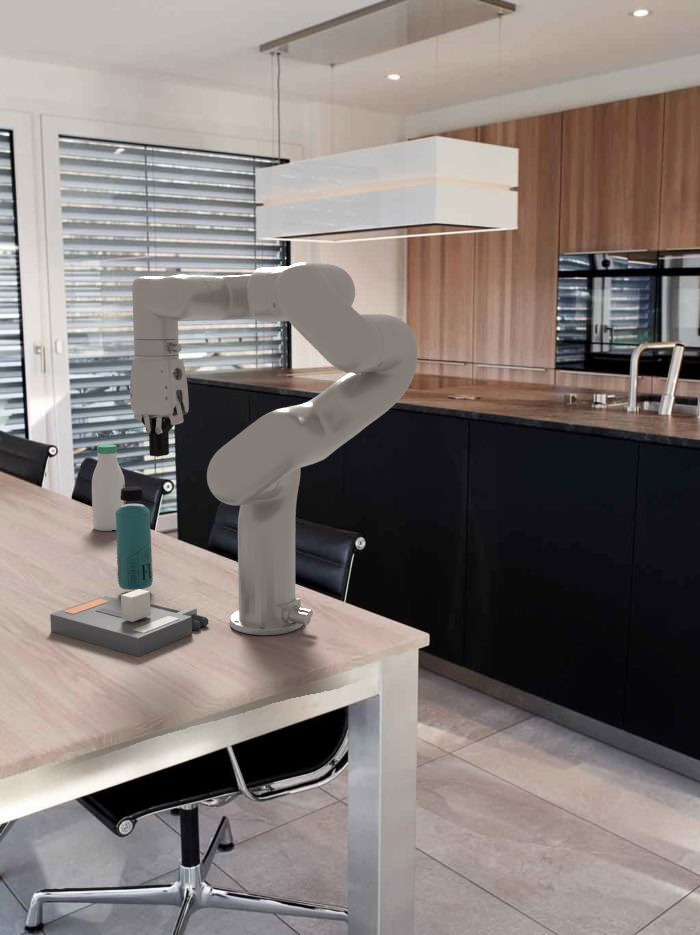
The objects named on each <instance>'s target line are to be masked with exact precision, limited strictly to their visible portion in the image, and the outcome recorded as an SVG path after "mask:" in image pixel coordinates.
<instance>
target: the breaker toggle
mask: <svg viewBox="0 0 700 935" xmlns="http://www.w3.org/2000/svg"><path fill="white" fill-rule="evenodd" d="M120 599H121V609H122V619H123V620H127V621H131V622H134V621H136V620H139V619H142V618H144V617H147V616H150V615H151V611H150V604H151V591H150V590H146V589H137V590H131V591H128V592H126V593H123V594H120Z"/></svg>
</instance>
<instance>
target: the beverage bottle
mask: <svg viewBox="0 0 700 935" xmlns="http://www.w3.org/2000/svg"><path fill="white" fill-rule="evenodd" d="M120 499H121V500H123V501H126V502H137V501H141V500H144V489H143V487H140V486H127V487H126V486H125V488H122V489H121V496H120ZM115 515H116V530H115V531H116V532H115V533H116V559H117V560H116V562H117V563H116V564H117V565H116V566H117V569H116V572H117V575H116V576H117V577H116V578H117V583H118V585H119V588H121V589H122V590H131V591H135V590H138V589H142V590H145V589H148V588H150V587H151V586H152V585H153V582H154V580H153V579H154V578H153V559H152V558H153V554H152V553H153V551H152V550H153V549H152V529H151V516H150V515H151V511H150V508H148V507H147V506H146V505H144V504H141V503H126V505H122V506H121V507H120V508H119V509H118V510H117V511H116V513H115Z"/></svg>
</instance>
